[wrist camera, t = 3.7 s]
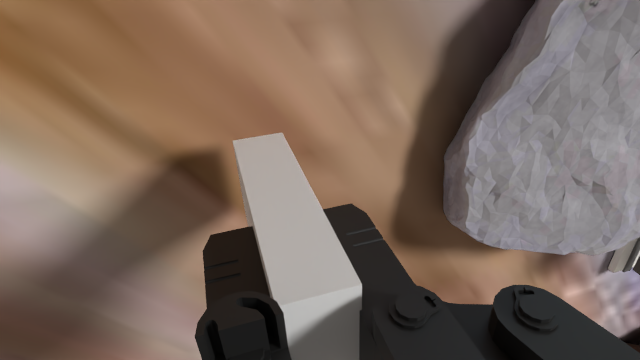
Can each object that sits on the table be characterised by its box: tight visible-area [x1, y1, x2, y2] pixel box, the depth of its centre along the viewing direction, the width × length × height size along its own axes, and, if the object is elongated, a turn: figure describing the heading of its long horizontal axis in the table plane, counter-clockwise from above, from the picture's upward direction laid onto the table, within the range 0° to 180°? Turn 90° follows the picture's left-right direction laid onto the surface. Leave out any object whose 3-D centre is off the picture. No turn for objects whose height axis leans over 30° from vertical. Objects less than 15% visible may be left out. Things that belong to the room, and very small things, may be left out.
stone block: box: [443, 0, 640, 255], centre depth 16 cm, size 12×5×10 cm
